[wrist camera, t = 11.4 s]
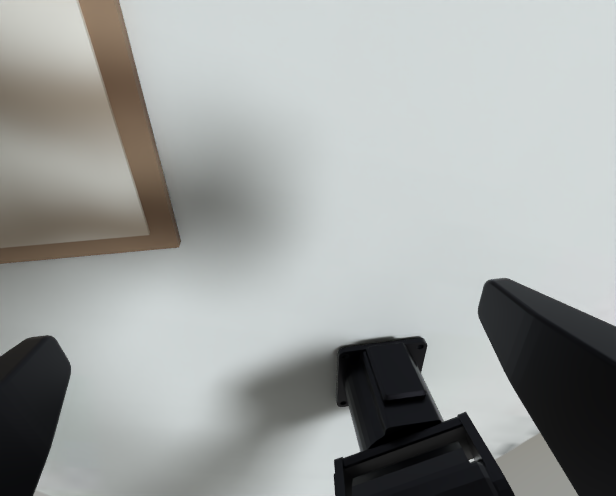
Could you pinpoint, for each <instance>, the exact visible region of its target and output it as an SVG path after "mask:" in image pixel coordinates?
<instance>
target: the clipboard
mask: <svg viewBox="0 0 616 496" xmlns="http://www.w3.org/2000/svg"><path fill="white" fill-rule="evenodd" d="M180 242H181V240H180V236H179V232H178V228H177V224H176V221H175V217H174V213H173V209H172V205H171V201H170V197H169V193H168V190H167V186H166V182H165V178H164V174H163V170H162V166H161V162H160V159H159V155H158V151H157V147H156V143H155V139H154V135H153V131H152V127H151V124H150V120H149V116H148V112H147V108H146V104H145V100H144V96H143V93H142V89H141V85H140V81H139V77H138V73H137V69H136V65H135V62H134V58H133V54H132V50H131V46H130V42H129V38H128V34H127V30H126V27H125V23H124V19H123V15H122V11H121V7H120V3H119V0H0V264H3V263H14V262H25V261H36V260H46V259H57V258H68V257H79V256H90V255H101V254H112V253H123V252H134V251H145V250H155V249H166V248H177V247H179V246H180Z"/></svg>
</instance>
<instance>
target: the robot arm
mask: <svg viewBox="0 0 616 496" xmlns="http://www.w3.org/2000/svg"><path fill="white" fill-rule="evenodd" d="M478 316H479V319H480V321H481V323H482V325H483V328H484V330H485V332H486V334H487V336H488V338H489V340H490V342H491V344H492V346H493V349H494V351H495V353H496V355H497V357H498V359H499V361H500V363H501V365H502V367H503V370H504V372H505V374H506V375H507V377H508V379H509V381H510V383H511V385H512V386H513V388H514V390H515V392H516V393H517V395H518V397H519V398H520V400H521V402H522V403H523V405H524V406H525V408H526V410H527V411H528V413H529V415H530V416H531V418H532V420H533V421H534V423H535V425H536V426H537V428H538V430H539V431H540V433H541V434H542V436H543V438H544V439H545V441H546V442H547V444H548V446H549V448H550V449H551V451H552V452H553V454H554V456H555V457H556V459H557V461H558V462H559V464H560V465H561V467H562V469H563V471H564V472H565V474H566V476H567V477H568V479H569V480H570V482H571V484H572V485H573V487H574V489H575V490H576V492H577V494H578V495H579V496H616V326H613V325H611V324H609V323H607V322H604V321H602V320H600V319H598V318H595V317H593V316H591V315H589V314H587V313H584V312H582V311H580V310H578V309H575V308H573V307H571V306H569V305H566V304H564V303H562V302H560V301H557V300H555V299H553V298H551V297H548V296H546V295H544V294H542V293H539V292H537V291H535V290H533V289H530V288H528V287H526V286H524V285H521V284H519V283H517V282H515V281H513V280H510V279H508V278H499V279H491V280H488V281H487V282H486V283H485V284H484V287H483V291H482V295H481V299H480V302H479V306H478ZM426 349H427V343H426V341H425V340H424V339H423V338H415V339H407V340H399V341H391V342H383V343H375V344H367V345H359V346H351V347H344V348H341V349H340V350H339V351H338V357H337V388H336V401H337V405H338V406H339V407H346V406H349V409H350V413H351V417H352V421H353V424H354V428H355V432H356V436H357V440H358V444H359V448H360V452H359V453H356V454H354V455H351V456H348V457H345V458H343V457H341V458H338V459H335V460H334V465H335V474H334V485H335V496H515V495H514V493H513V491H512V489H511V487H510V485H509V484H508V482H507V480H506V478H505V476H504V475H503V473H502V471H501V469H500V468H499V466H498V465H497V463H496V461H495V459H494V458H493V456H492V455H491V453H490V451H489V450H488V448H487V446H486V445H485V443H484V441H483V440H482V438H481V436H480V435H479V433H478V431H477V430H476V428H475V426H474V425H473V423H472V421H471V420H470V418H469V416H468V415H467V413H466V412H464V413H461V414H458V417H455V418H452V419H450V420H447V421H443V419H442V416H441V414H440V412H439V410H438V408H437V406H436V404H435V402H434V400H433V398H432V396H431V393H430V391H429V389H428V387H427V385H426V383H425V381H424V379H423V377H422V375H421V371H422V366H423V362H424V358H425V353H426ZM70 375H71V365H70V362H69V360H68V358H67V357H66V355H65V353H64V352H63V350H62V348H61V347H60V345H59V344H58V342H57V340H56V339H55V338H54V337H52V336H49V335H46V336H38V337H31V338H27V339H25V340H24V341H22V342H21V343H19V344H18V345H16V346H15V347H13V348H12V349H11V350H9V351H8V352H6V353H5V354H3V355H2V356H0V496H33V494H34V492H35V489H36V487H37V484H38V481H39V479H40V476H41V473H42V471H43V468H44V466H45V463H46V460H47V457H48V454H49V451H50V448H51V445H52V442H53V439H54V435H55V431H56V427H57V424H58V420H59V416H60V413H61V409H62V405H63V401H64V398H65V394H66V390H67V386H68V383H69V379H70ZM473 458H474V460H475V461H473V462H471V463H470V462H469V460H470V459H473Z"/></svg>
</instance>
